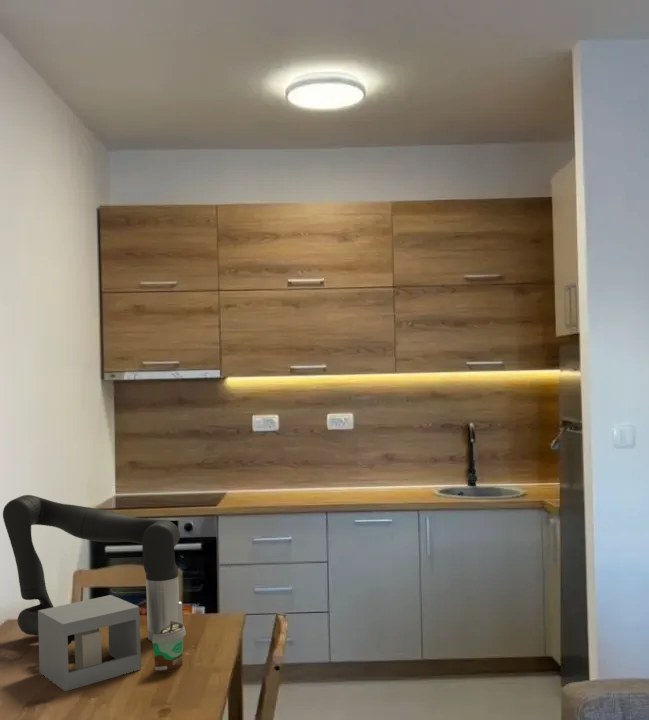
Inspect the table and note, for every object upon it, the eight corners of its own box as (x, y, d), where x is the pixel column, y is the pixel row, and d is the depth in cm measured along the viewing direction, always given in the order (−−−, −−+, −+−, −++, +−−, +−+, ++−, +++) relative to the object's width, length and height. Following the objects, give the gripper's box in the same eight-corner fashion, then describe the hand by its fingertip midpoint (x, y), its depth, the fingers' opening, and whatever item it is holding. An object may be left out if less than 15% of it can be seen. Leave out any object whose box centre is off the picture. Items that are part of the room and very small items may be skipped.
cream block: (94, 665, 204) (92, 627, 204) (102, 670, 200) (100, 631, 201) (75, 670, 201) (74, 631, 201) (83, 675, 197) (82, 635, 197)
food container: (176, 676, 194) (174, 635, 194) (153, 675, 195) (151, 635, 196) (194, 658, 206) (192, 620, 207) (172, 658, 207) (171, 620, 208)
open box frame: (112, 653, 213) (110, 594, 213) (141, 669, 200) (139, 606, 200) (39, 673, 200) (37, 610, 200) (64, 691, 187) (63, 624, 187)
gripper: (31, 621, 212) (53, 634, 200) (82, 610, 221) (106, 622, 209) (32, 649, 212) (54, 664, 200) (83, 637, 221) (107, 650, 209)
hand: (80, 642), depth 204 cm, fingers open, 8 cm apart
